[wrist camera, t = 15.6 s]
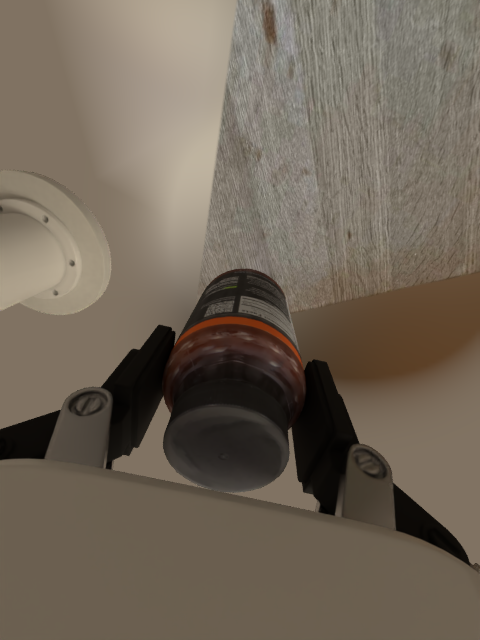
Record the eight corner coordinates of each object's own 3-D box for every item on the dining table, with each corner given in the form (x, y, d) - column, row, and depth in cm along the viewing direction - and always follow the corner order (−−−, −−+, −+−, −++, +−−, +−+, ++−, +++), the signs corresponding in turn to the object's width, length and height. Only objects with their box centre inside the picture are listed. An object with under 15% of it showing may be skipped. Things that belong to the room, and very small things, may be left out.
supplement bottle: (243, 358, 20) (224, 530, 10) (184, 305, 18) (90, 448, 8) (306, 309, 18) (363, 468, 8) (245, 245, 16) (217, 341, 6)
